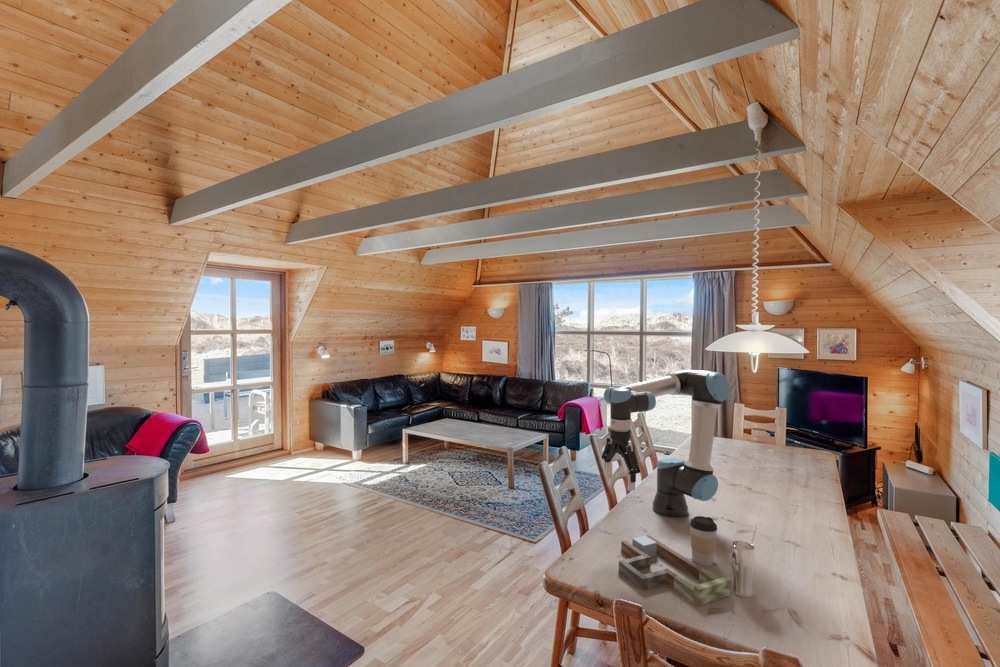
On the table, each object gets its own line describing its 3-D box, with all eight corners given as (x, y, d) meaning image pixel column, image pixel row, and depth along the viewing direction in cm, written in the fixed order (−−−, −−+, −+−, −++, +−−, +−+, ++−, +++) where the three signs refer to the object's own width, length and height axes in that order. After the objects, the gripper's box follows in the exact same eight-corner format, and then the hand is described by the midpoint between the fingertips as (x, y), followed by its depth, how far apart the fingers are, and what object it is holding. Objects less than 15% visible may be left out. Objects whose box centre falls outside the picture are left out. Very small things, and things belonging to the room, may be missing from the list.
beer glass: (746, 585, 149) (747, 539, 149) (759, 598, 142) (760, 550, 142) (725, 585, 149) (726, 540, 149) (737, 598, 142) (738, 550, 142)
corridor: (648, 544, 176) (648, 531, 176) (729, 595, 143) (730, 580, 143) (599, 555, 167) (599, 542, 167) (673, 614, 134) (674, 597, 134)
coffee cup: (700, 568, 159) (701, 525, 159) (683, 555, 168) (684, 515, 167) (722, 565, 162) (723, 523, 161) (704, 552, 170) (705, 512, 170)
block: (644, 548, 173) (645, 535, 173) (656, 556, 168) (656, 542, 167) (632, 551, 171) (632, 538, 170) (643, 559, 165) (643, 545, 165)
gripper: (593, 423, 186) (592, 475, 186) (634, 438, 163) (633, 497, 163) (608, 421, 189) (607, 472, 189) (650, 436, 166) (650, 494, 166)
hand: (619, 484), depth 176 cm, fingers open, 13 cm apart
